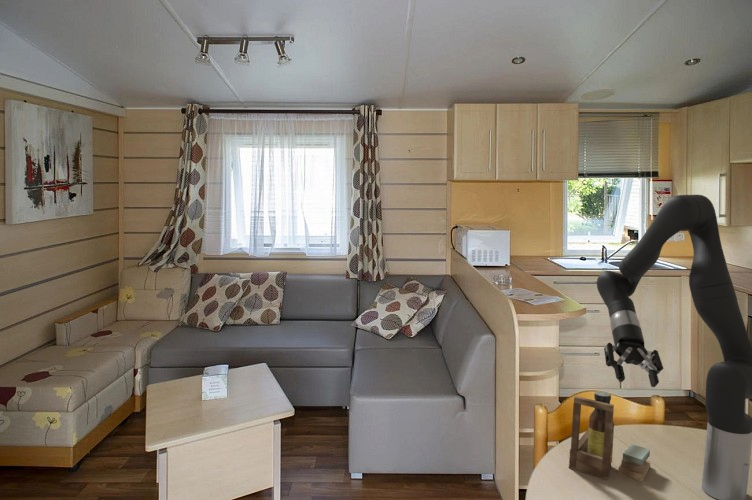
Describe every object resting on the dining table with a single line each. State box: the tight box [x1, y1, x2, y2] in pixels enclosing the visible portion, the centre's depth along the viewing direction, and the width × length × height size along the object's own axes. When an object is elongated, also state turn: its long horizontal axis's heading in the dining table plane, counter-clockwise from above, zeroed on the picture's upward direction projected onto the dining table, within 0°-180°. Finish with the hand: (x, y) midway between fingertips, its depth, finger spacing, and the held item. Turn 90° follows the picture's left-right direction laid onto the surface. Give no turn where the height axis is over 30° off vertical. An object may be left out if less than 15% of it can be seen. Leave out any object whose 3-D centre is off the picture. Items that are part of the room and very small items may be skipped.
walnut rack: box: [568, 395, 615, 481], centre depth 148 cm, size 10×15×20 cm, turn 144°
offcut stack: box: [617, 443, 652, 482], centre depth 144 cm, size 6×9×5 cm
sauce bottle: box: [587, 390, 615, 468], centre depth 146 cm, size 7×6×20 cm
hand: (638, 383), depth 142 cm, fingers open, 8 cm apart
